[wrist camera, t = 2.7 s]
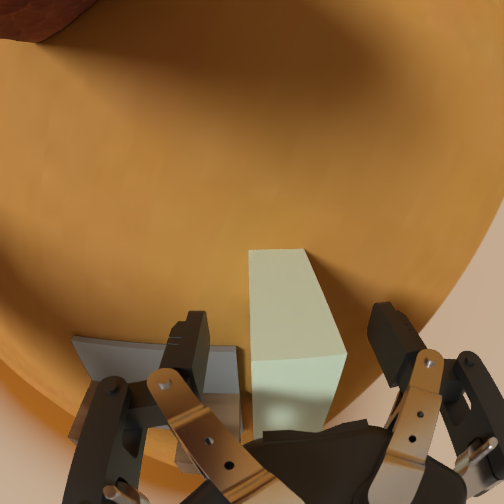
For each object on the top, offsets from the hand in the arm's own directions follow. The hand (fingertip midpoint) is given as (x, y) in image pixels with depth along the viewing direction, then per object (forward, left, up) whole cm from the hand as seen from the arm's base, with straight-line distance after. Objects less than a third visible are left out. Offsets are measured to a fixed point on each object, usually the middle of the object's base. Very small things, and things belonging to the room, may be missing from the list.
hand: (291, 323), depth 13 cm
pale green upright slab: (0, -5, -4) cm, 6 cm away
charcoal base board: (-9, -11, -4) cm, 15 cm away
